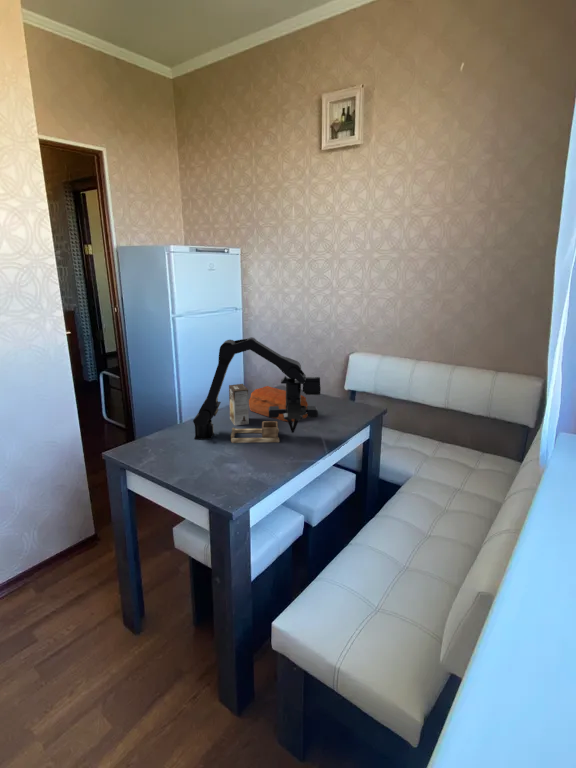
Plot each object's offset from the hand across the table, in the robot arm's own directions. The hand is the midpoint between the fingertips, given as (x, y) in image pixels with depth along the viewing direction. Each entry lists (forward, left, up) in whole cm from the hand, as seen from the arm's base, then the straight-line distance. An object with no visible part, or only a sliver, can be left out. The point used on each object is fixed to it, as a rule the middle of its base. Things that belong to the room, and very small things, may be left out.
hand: (292, 432), depth 165 cm
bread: (-5, +29, -3) cm, 29 cm away
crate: (-9, 0, -2) cm, 9 cm away
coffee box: (-22, +17, -3) cm, 28 cm away
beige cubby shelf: (-14, 0, -2) cm, 14 cm away
